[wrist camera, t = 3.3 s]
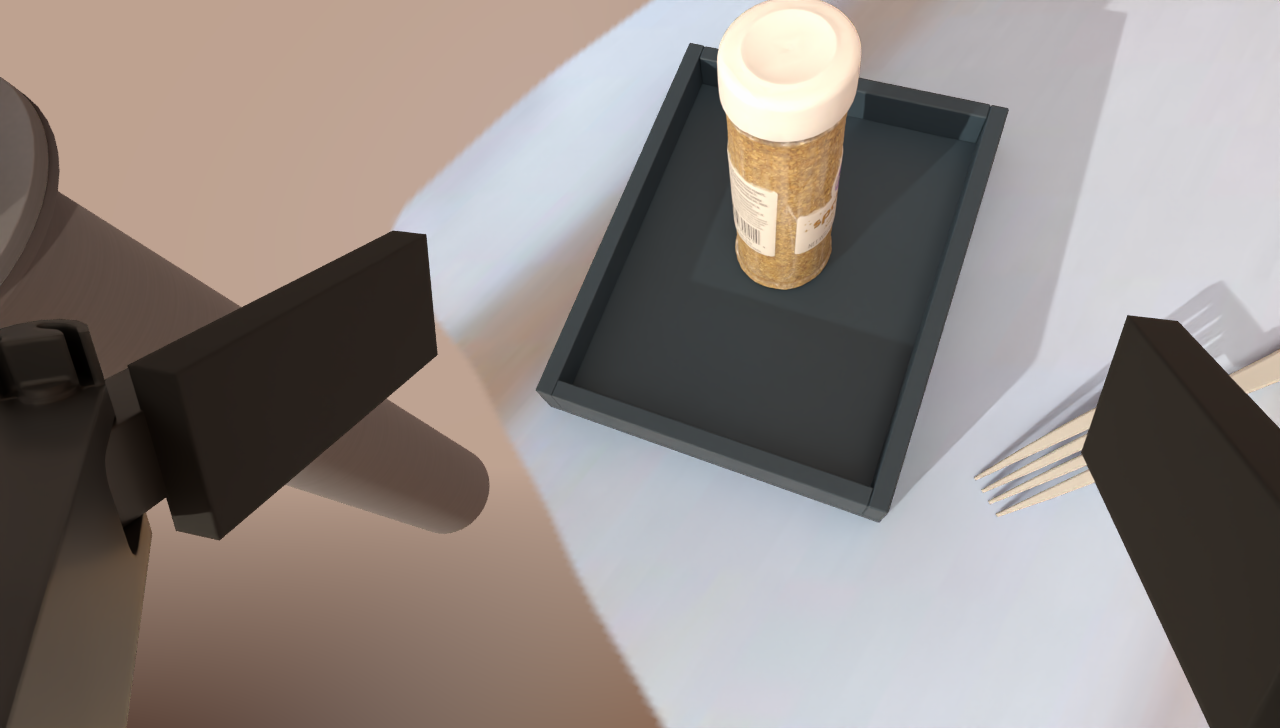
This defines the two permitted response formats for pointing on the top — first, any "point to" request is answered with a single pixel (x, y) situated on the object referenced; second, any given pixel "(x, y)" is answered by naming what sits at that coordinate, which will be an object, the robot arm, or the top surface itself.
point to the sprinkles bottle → (786, 132)
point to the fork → (1247, 378)
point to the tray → (779, 297)
